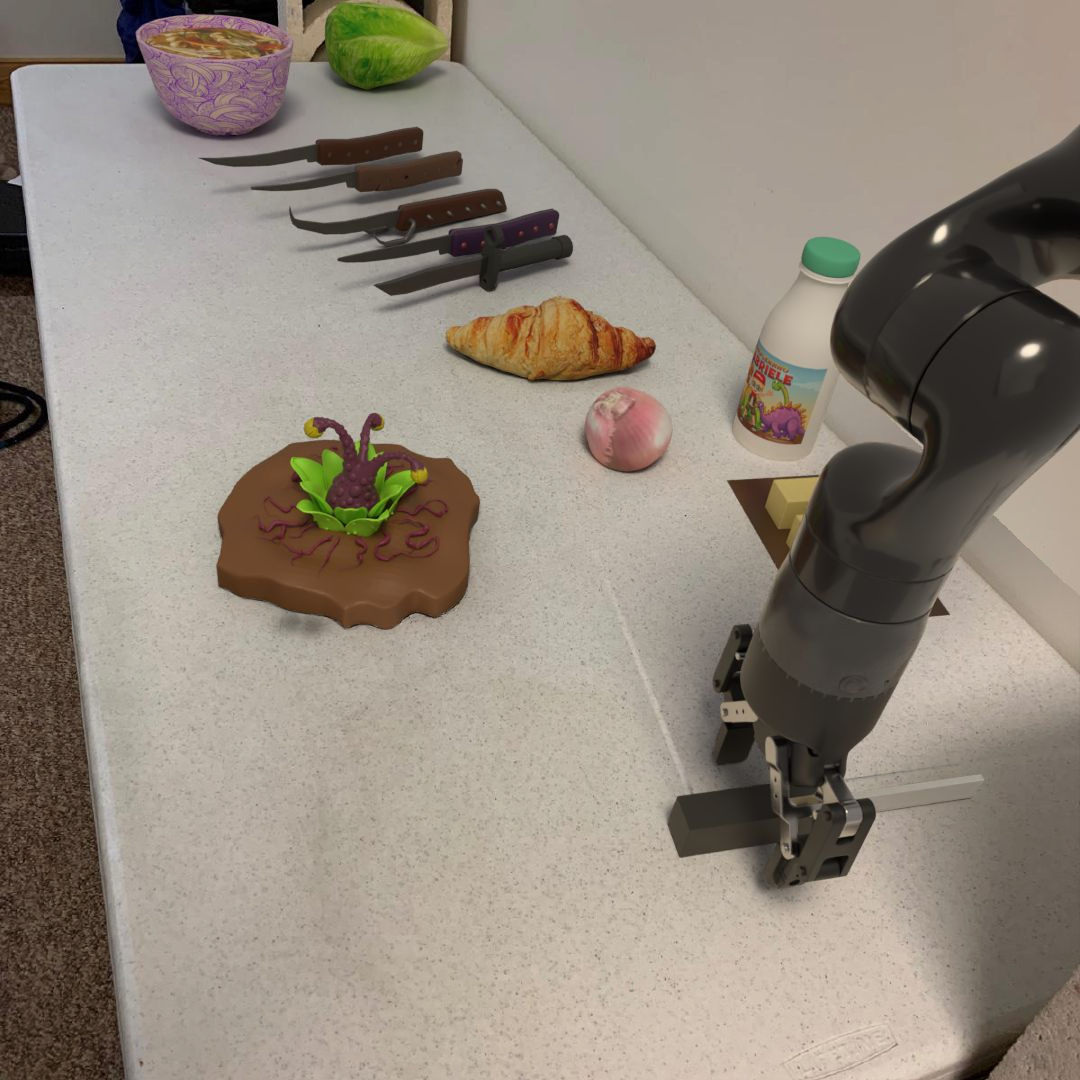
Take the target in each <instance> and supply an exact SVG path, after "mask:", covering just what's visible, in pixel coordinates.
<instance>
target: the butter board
mask: <svg viewBox="0 0 1080 1080" xmlns="http://www.w3.org/2000/svg"><path fill="white" fill-rule="evenodd" d="M819 475H820V474H810V475H809V474H808V475H807V474H806V475H791V476H775V477H774V476H773V477H757V478H743V479H742V478H741V479H740V478H739V479H727V480H726V482H727V484H728V485H729V487H730V489H731V491H732V492H733V494H734V495H735V498H736V499H737V501H738V503H739V505H740V506H741V508H742V510H743V512H744V513H745V515H746V517H747V519H748V520H749V522H750V524H751V525H752V527H753V529H754V530H755V533H756V534H757V536H758V538H759V539H760V542H761V543H762V545H763V547H764V548H765V550H766V552H767V554H768V555H769V558H770V559H771V560H772V562H773V565H774V566H775V568H776V569H777V571H778V570H779V568H780V567H781V565H782V563H783V562H784V560H785V558H786V557H787V555H788V553H789V551H790V548H789V547H788V545H787V543H786V541H787V538H788V536H789V533H790V530H791V529H778V528H777V526H776V525H775V523H774V521H773V520H772V518H771V516H770V515H769V513H768V511H767V510H766V508H765V505H766V502H767V499H768V496H769V493H770V490H771V487H772V484H773V481H774V480H779V479H796V478H812V477H819ZM950 615H951V613H950V612H949V611H948V610H947V607H946V606H945V605H944V604H943V602H942V601H941V600H940V597H939V596H938V597H937V599H936V601H935V603H934V605H933V607H932V609H931V612H930V614H929V617H928V618H931V617H933V618H934V617H942V616H950Z"/></svg>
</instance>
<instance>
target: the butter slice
mask: <svg viewBox="0 0 1080 1080" xmlns="http://www.w3.org/2000/svg"><path fill="white" fill-rule="evenodd" d="M817 480H818V477H812V478H796V479H779V480H774V481H773V484H772V487H771V490H770V493H769V496H768V499H767V502H766V505H765V508H766V510H767V511H768V513H769V515H770V516H771V518H772V520H773V521H774V523H775V525H776V526H777V528H778V529H791V528H792V525H793V522H794V519H795V517H796V515H804V512H805V509H806V507H807V504H808V501H809V499H810V497H811V494H812V492H813V489H814V487H815V484H816V482H817Z"/></svg>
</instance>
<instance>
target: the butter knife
mask: <svg viewBox="0 0 1080 1080" xmlns="http://www.w3.org/2000/svg"><path fill="white" fill-rule="evenodd" d="M984 782H985V778H984V777H983V775H982V774H981V773H978V774H971V775H964V776H957V777H950V778H944V779H943V778H942V779H936V780H929V781H922V782H914V783H909V784H900V785H893V786H887V787H881V788H880V787H879V788H874V789H866V790H859V791H852V792H851V794H852V796H853V797H854V799H862V798H869V799H870V800H871V801H872V802H873V804H874V806H875V810H876V813H877V812H884V811H891V810H897V809H898V810H899V809H904V808H911V807H918V806H925V805H931V804H937V803H945V802H951V801H959V800H963V799H964V800H965V799H970V798H974V797H975V795H976V793H977V792H978V790H979V789H980V788H981V786H982V785H983V783H984ZM817 789H818V788H805V787H789V798H796V797H803V796H810V795H813V794H814V793H815V792H816V791H817ZM667 825H668V829H669V832H670V834H671V836H672V840H673V843H674V846H675V848H676V850H677V854H678V856H679V858H686V857H692V856H699V855H705V854H712V853H719V852H725V851H732V850H739V849H744V848H750V847H756V846H757V847H758V846H765V845H769V844H777V843H778V842H780V818H779V815H777V814H776V813H774V812H773V811H772V809H771V788H770V782H769V783H762V784H756V785H755V784H754V785H749V786H741V787H740V786H739V787H733V788H726V789H720V790H718V789H717V790H711V791H705V792H704V791H703V792H698V793H691V794H684V795H677V796H676V799H675V801H674V804H673V806H672V810H671V812H670V816H669V818H668V821H667ZM811 829H812V821H811V817H807V818H801V819H800V820H799V821H798V834H804V833H810V831H811Z"/></svg>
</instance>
